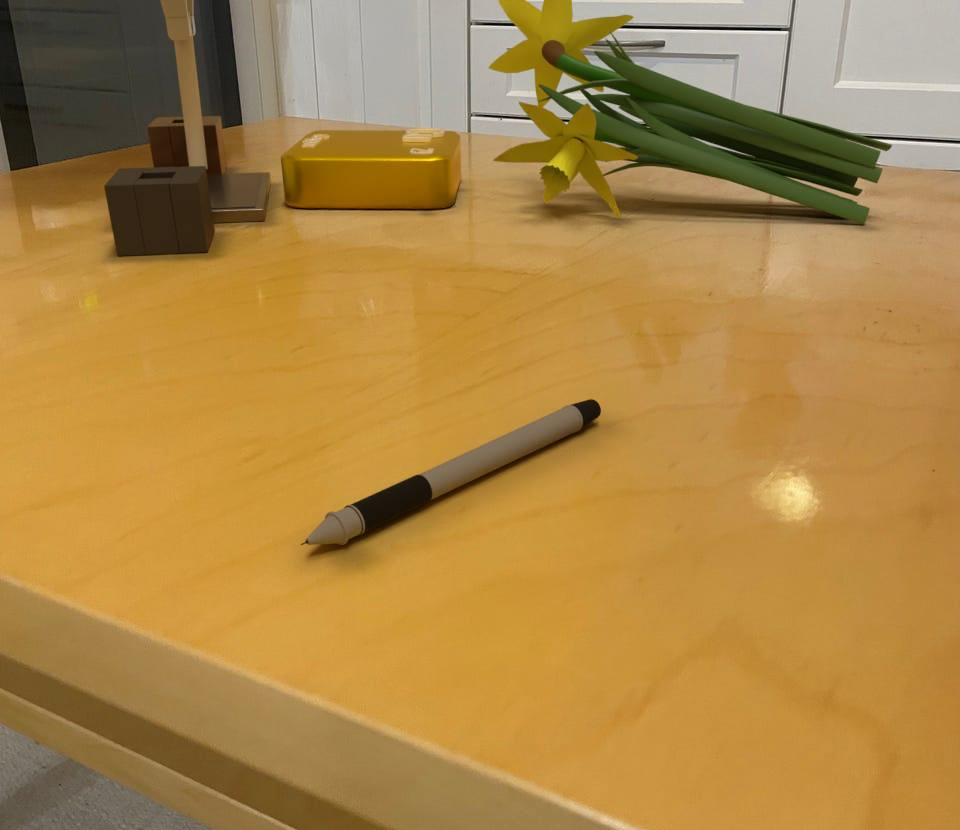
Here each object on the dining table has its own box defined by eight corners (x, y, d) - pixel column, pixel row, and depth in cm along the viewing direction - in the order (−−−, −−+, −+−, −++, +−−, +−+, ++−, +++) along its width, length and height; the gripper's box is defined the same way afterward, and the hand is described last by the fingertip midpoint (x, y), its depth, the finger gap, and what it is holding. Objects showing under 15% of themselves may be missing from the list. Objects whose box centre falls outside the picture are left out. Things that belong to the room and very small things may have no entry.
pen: (604, 425, 43) (605, 399, 43) (313, 568, 33) (310, 536, 32) (581, 417, 44) (583, 391, 43) (291, 553, 34) (287, 522, 33)
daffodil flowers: (877, 261, 70) (431, 117, 70) (808, 306, 85) (439, 187, 85) (944, 49, 70) (501, -94, 71) (863, 130, 85) (496, 12, 85)
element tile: (313, 175, 94) (308, 124, 92) (462, 176, 94) (461, 125, 92) (280, 209, 81) (274, 151, 79) (453, 210, 81) (452, 152, 78)
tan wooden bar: (190, 183, 84) (169, 10, 80) (192, 183, 86) (172, 13, 81) (208, 183, 85) (188, 10, 80) (210, 183, 86) (191, 13, 82)
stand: (155, 180, 92) (146, 126, 90) (164, 168, 98) (156, 117, 95) (222, 178, 93) (215, 124, 91) (227, 166, 99) (220, 115, 96)
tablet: (113, 227, 76) (111, 213, 75) (143, 186, 90) (141, 175, 89) (264, 221, 78) (263, 207, 77) (270, 182, 91) (269, 171, 91)
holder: (117, 256, 68) (103, 185, 66) (131, 234, 74) (119, 168, 71) (207, 252, 69) (197, 182, 67) (214, 231, 75) (205, 165, 72)
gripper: (135, -142, 83) (161, 31, 90) (89, -171, 66) (126, 48, 73) (208, -141, 84) (228, 31, 91) (182, -169, 67) (210, 47, 73)
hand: (182, 39), depth 82 cm, fingers closed on tan wooden bar, 2 cm apart
